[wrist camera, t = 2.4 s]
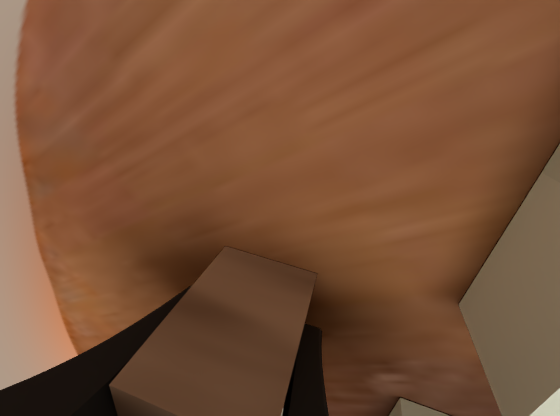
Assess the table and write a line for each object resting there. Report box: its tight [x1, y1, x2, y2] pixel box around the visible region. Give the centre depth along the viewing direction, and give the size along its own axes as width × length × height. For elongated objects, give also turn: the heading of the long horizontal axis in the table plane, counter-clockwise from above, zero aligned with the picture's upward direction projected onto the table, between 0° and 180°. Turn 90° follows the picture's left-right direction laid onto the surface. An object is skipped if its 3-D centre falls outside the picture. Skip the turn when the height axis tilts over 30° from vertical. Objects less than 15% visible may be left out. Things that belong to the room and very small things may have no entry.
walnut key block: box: [109, 246, 317, 416], centre depth 10 cm, size 4×4×6 cm
